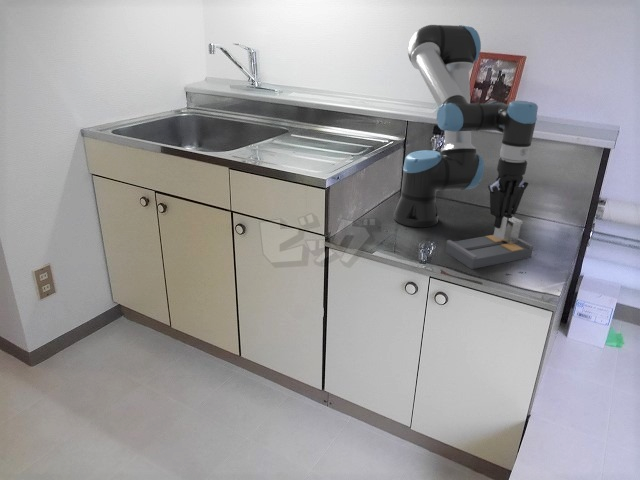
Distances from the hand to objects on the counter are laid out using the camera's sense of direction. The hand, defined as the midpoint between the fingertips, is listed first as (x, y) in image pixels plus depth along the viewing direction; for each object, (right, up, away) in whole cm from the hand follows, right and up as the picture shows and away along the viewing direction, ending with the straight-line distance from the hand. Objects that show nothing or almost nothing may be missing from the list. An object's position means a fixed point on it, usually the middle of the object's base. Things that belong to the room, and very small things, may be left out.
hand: (498, 237), depth 152 cm
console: (-3, -5, +1) cm, 6 cm away
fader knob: (+4, -1, +2) cm, 5 cm away
